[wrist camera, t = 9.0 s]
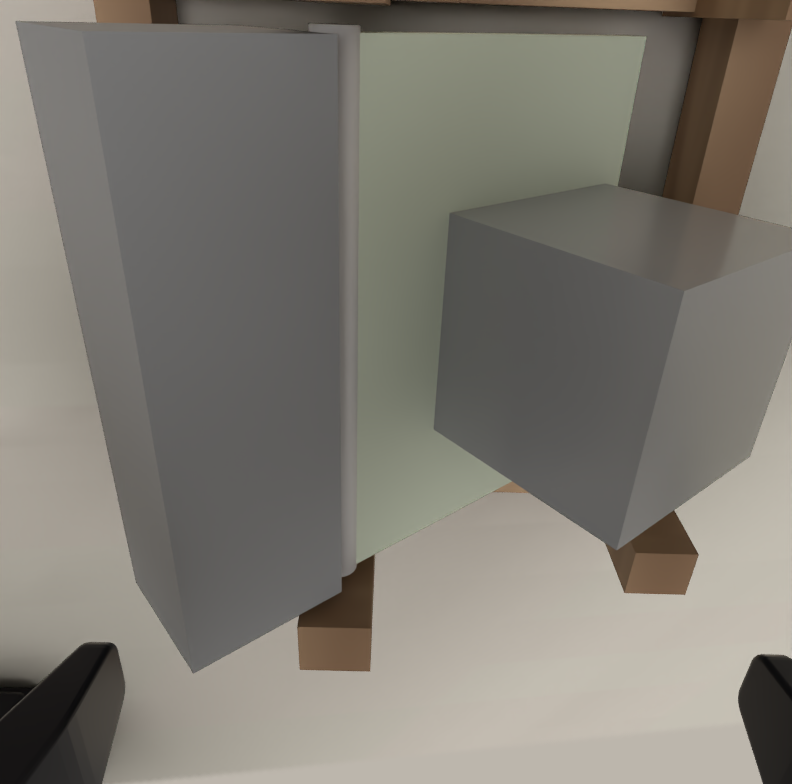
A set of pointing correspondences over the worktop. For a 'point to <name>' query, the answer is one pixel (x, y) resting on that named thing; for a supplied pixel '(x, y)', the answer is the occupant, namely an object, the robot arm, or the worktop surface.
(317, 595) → the trapdoor
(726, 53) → the trapdoor frame
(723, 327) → the grey cube block
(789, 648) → the worktop surface
